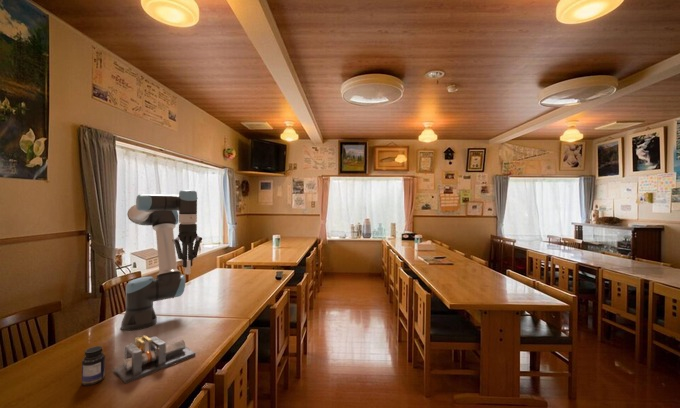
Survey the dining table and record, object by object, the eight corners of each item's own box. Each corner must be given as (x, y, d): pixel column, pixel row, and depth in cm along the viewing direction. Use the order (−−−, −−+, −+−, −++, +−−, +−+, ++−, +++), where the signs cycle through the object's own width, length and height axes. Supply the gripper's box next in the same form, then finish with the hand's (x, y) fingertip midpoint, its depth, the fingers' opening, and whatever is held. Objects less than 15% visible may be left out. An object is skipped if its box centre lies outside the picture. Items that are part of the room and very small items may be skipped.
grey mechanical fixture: (114, 371, 108) (114, 347, 108) (181, 346, 127) (181, 326, 127) (125, 383, 101) (125, 357, 101) (195, 355, 120) (195, 333, 120)
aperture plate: (134, 361, 113) (134, 337, 113) (143, 357, 115) (144, 334, 115) (141, 367, 109) (141, 342, 109) (151, 363, 111) (151, 339, 111)
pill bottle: (90, 376, 105) (91, 345, 105) (109, 375, 105) (109, 344, 106) (76, 386, 99) (77, 353, 99) (96, 385, 99) (96, 353, 99)
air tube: (127, 373, 104) (128, 361, 104) (123, 369, 107) (123, 357, 107) (185, 351, 120) (185, 340, 120) (180, 348, 123) (180, 338, 123)
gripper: (177, 224, 130) (176, 277, 129) (205, 223, 140) (205, 272, 140) (169, 223, 134) (169, 275, 134) (197, 222, 144) (197, 270, 144)
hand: (187, 273), depth 137 cm, fingers closed
